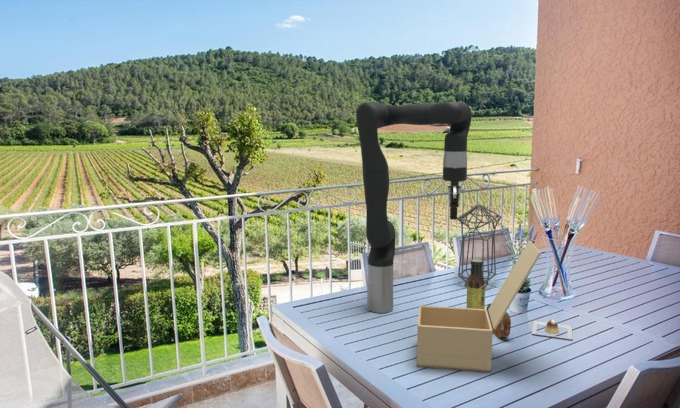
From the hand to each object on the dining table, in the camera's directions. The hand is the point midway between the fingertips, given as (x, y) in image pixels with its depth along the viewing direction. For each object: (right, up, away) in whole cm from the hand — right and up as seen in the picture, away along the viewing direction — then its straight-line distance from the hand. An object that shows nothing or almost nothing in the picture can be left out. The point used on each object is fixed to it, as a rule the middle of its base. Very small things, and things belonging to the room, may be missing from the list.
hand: (453, 219), depth 164 cm
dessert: (+33, -38, +2) cm, 50 cm away
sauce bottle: (+12, -35, +17) cm, 41 cm away
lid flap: (+11, -17, -22) cm, 30 cm away
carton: (-4, -40, -16) cm, 43 cm away
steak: (+15, -37, +2) cm, 40 cm away
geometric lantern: (+21, -30, +51) cm, 63 cm away
